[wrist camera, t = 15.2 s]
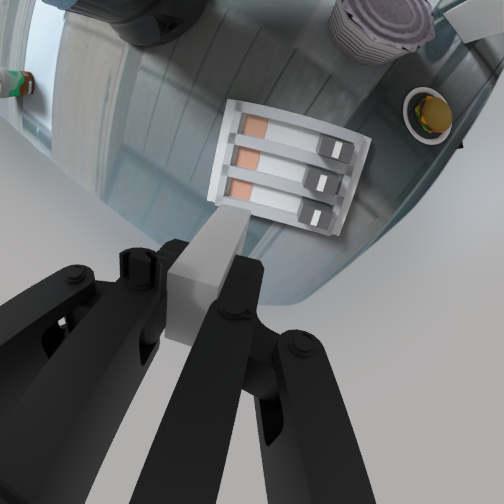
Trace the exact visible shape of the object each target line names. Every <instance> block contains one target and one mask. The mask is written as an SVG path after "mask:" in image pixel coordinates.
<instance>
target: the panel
mask: <svg viewBox="0 0 504 504" xmlns="http://www.w3.org/2000/svg"><path fill="white" fill-rule="evenodd" d="M320 134H321V135H324V136H327V137H330V138H334V139H337V140H340V141H343V142H345V143H348V144H351V145H354V146H355V148H354V152H353V155H352V158H351V161H350V164H347V163H344V162H341V161H338V160H335V159H332V158H329V157H326V156H323V155H320V154H318V153H317V152H316V147H317V144H318V140H319V136H320ZM370 143H371V138H369V137H366V136H364V135H362V134H359V133H356V132H354V131H351V130H348V129H345V128H342V127H339V126H336V125H333V124H330V123H327V122H324V121H321V120H317V119H314V118H311V117H307V116H304V115H300V114H296V113H293V112H289V111H285V110H281V109H277V108H272V107H268V106H264V105H259V104H254V103H249V102H244V101H239V100H231V99H228V100H227V104H226V108H225V113H224V117H223V122H222V126H221V131H220V135H219V140H218V145H217V150H216V155H215V160H214V165H213V170H212V175H211V180H210V186H209V191H208V197H207V200H208V201H212V202H215V205H216V206H220V205H221V204H222V203H223V204H227V205H231V206H235V207H239V208H243V209H246V210H250V211H252V212H251V214H252V215H255V216H259V217H263V218H267V219H270V220H274V221H278V222H281V223H285V224H289V225H292V226H296V227H299V228H303V229H306V230H310V231H314V232H317V233H320V234H324V235H327V236H331V234H334V235H337V236H339V235H340V232H341V229H342V227H343V224H344V221H345V219H346V216H347V213H348V210H349V208H350V205H351V202H352V199H353V196H354V193H355V190H356V187H357V184H358V181H359V178H360V175H361V172H362V169H363V166H364V163H365V159H366V156H367V153H368V150H369V146H370ZM307 165H311V166H314V167H317V168H321V169H324V170H327V171H330V172H333V173H335V174H336V175H337V176H338V177H339V178H340V180H339V184H338V187H337V190H336V193H335V196H334V197H333V196H330V195H327V194H324V193H320V192H317V191H314V190H310V189H307V188H303V183H302V180H303V176H304V173H305V169H306V166H307ZM302 196H303V197H306V198H310V199H313V200H316V201H320V202H323V203H326V204H329V205H330V207H331V209H332V211H333V216H332V219H331V222H330V225H329V228H328V230H324V229H321V228H317V227H314V226H310V225H307V224H303V223H300V222H298V214H297V212H298V209H299V205H300V202H301V199H302Z"/></svg>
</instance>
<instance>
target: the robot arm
mask: <svg viewBox="0 0 504 504" xmlns="http://www.w3.org/2000/svg"><path fill="white" fill-rule="evenodd" d="M42 1H43V2H44V3H46V4H49V5H52V6H55V7H57V8H58V9H60V10H65V11H70V12H73V13H77V14H81V15H84V16H88V17H91V18H95V19H98V20H101V21H104V22H107V23H109V24H110V25H111V27H112V28H113V29H114V30H115V31H116V33H117V35H118V36H119V37H120V38H121V39H123V40H124V41H126V42H128V43H131V44H134V45H136V46H141V47H152V46H158V45H161V44H164V43H167V42H169V41H171V40H173V39H175V38H177V37H179V36H180V35H182V34H183V33H184V32H186V31H187V30H188V29H189V28H190V27H191V26H192V25H193V24H194V23H195V22H196V20H197V19H198V18H199V16H200V15H201V13H202V11H203V9H204V6H205V2H206V0H42ZM251 212H252V211H250V210H246V209H243V208H239V207H235V206H231V205H227V204H223V203H222V204H221V205H220V206H219V207H218V209H217V210H216V211H215V212H214V214H213V215H212V216H211V217H210V218H209V220H208V221H207V222H206V223H205V225H204V226H203V227H202V228H201V229H200V231H199V232H198V233H197V234H196V236H195V237H194V238H193V240H192V241H191V242H190V243H189V242H186V241H182V240H178V239H173V240H171V241H169V242H166V243H165V244H164V245H163V246H162V247H161V248H160V250H158V251H157V252H155V251H153V250H150V249H147V248H130V249H127V250H124V251H122V252H121V253H120V254H119V255H120V256H119V257H120V278H119V279H118V280H117V281H116V282H106V281H98V280H95V277H94V272H93V271H92V269H91V268H89V267H87V266H85V265H70V266H67V267H65V268H62V269H61V270H59V271H57V272H55V273H54V274H52V275H50V276H48V277H47V278H45V279H43V280H41V281H40V282H38V283H37V284H35V285H33V286H31V287H30V288H28V289H26V290H25V291H23V292H22V293H20V294H18V295H17V296H15V297H14V298H12V299H10V300H9V301H7V302H6V303H4V304H3V305H1V306H0V504H85V501H86V499H87V497H88V494H89V492H90V490H91V487H92V485H93V483H94V480H95V478H96V476H97V474H98V471H99V469H100V467H101V465H102V462H103V460H104V458H105V456H106V453H107V452H108V449H109V447H110V445H111V443H112V441H113V439H114V437H115V435H116V432H117V430H118V428H119V426H120V424H121V422H122V420H123V418H124V416H125V414H126V412H127V409H128V408H129V406H130V404H131V401H132V400H133V398H134V396H135V394H136V392H137V390H138V388H139V386H140V384H141V382H142V380H143V378H144V376H145V374H146V372H147V370H148V368H149V366H150V364H151V362H152V360H153V358H154V356H155V354H156V353H157V351H158V349H159V344H160V335H161V333H162V332H163V330H164V328H165V338H168V339H171V340H174V341H177V342H180V343H183V344H186V345H189V346H192V348H191V351H190V353H189V355H188V358H187V360H186V362H185V365H184V367H183V370H182V372H181V375H180V377H179V379H178V382H177V384H176V386H175V389H174V391H173V394H172V396H171V399H170V401H169V403H168V406H167V408H166V411H165V413H164V416H163V418H162V421H161V423H160V426H159V428H158V431H157V433H156V435H155V438H154V441H153V443H152V445H151V448H150V451H149V453H148V456H147V458H146V461H145V463H144V466H143V469H142V471H141V474H140V476H139V479H138V481H137V484H136V486H135V489H134V492H133V494H132V497H131V500H130V502H129V504H216V500H217V496H218V492H219V488H220V483H221V479H222V475H223V471H224V466H225V462H226V457H227V453H228V449H229V444H230V440H231V435H232V430H233V426H234V422H235V417H236V413H237V408H238V403H239V398H240V394H241V390H242V389H243V390H245V391H247V392H248V393H250V394H252V395H254V402H255V410H256V419H257V426H258V434H259V442H260V449H261V457H262V464H263V471H264V478H265V486H266V493H267V500H268V504H376V501H375V498H374V495H373V491H372V488H371V484H370V481H369V478H368V475H367V471H366V468H365V465H364V462H363V459H362V455H361V452H360V449H359V446H358V443H357V440H356V437H355V434H354V431H353V428H352V425H351V422H350V419H349V416H348V413H347V410H346V407H345V404H344V402H343V399H342V396H341V393H340V390H339V387H338V385H337V382H336V379H335V376H334V374H333V371H332V368H331V365H330V362H329V360H328V357H327V354H326V352H325V349H324V347H323V345H322V343H321V342H320V340H318V339H317V338H316V337H315V336H314V335H312V334H310V333H308V332H306V331H302V330H297V329H296V330H288V331H286V332H284V333H282V334H281V335H280V334H278V333H276V332H274V331H272V330H270V329H269V328H267V327H265V325H264V324H262V323H261V321H260V320H259V318H258V316H257V313H256V309H257V304H258V299H259V294H260V289H261V283H262V278H263V273H264V267H263V265H262V263H261V261H259V260H256V259H252V258H248V257H244V256H241V254H242V249H243V245H244V241H245V237H246V233H247V229H248V224H249V220H250V216H251ZM63 317H64V318H65V322H66V324H64V325H61V326H60V325H59V324H58V321H59V320H60V319H62V318H63Z"/></svg>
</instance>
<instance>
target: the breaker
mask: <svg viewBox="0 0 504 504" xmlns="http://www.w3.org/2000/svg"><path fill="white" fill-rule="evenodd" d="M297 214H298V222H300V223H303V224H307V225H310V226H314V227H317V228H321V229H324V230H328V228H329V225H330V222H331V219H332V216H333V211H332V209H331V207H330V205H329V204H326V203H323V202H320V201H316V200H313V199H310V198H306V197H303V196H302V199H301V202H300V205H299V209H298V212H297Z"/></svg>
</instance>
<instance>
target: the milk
mask: <svg viewBox="0 0 504 504" xmlns="http://www.w3.org/2000/svg"><path fill="white" fill-rule="evenodd" d="M443 15H444V16H445V17H446V19H447V20H448V21H449V23H450V24H451V25H452V27H453V28H454V29H455V31H456V32H457V34H458V35H459V36H460V38H461V39H462V41H463V42H464V43H468V42H472V41H475V40H478V39H481V38H485V37H489V36H492V35H496V34H500V33H504V0H467V1H465V2H464V3H462V4H460V5H458V6H456V7H454V8H453V9H451V10H449V11H447V12H446V13H444V14H443Z"/></svg>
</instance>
